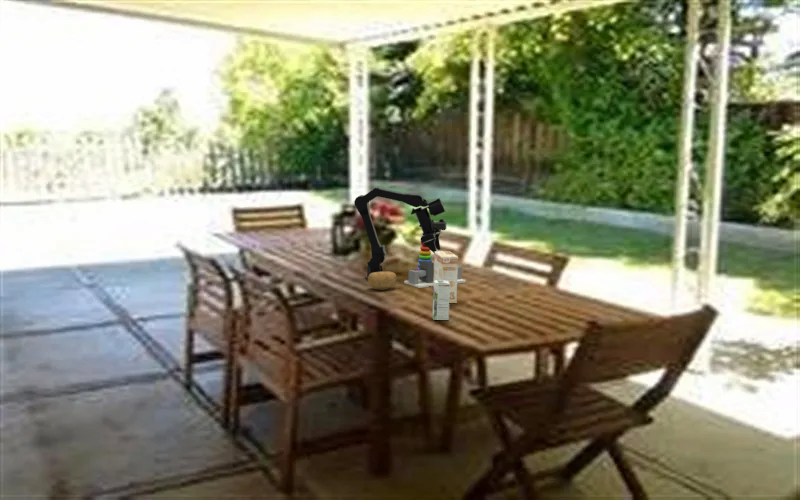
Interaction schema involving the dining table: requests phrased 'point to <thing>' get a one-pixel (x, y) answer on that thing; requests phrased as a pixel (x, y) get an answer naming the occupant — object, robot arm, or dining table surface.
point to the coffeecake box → (447, 271)
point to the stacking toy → (424, 254)
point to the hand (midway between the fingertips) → (437, 251)
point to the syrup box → (441, 300)
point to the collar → (427, 270)
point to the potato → (382, 280)
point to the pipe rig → (415, 281)
